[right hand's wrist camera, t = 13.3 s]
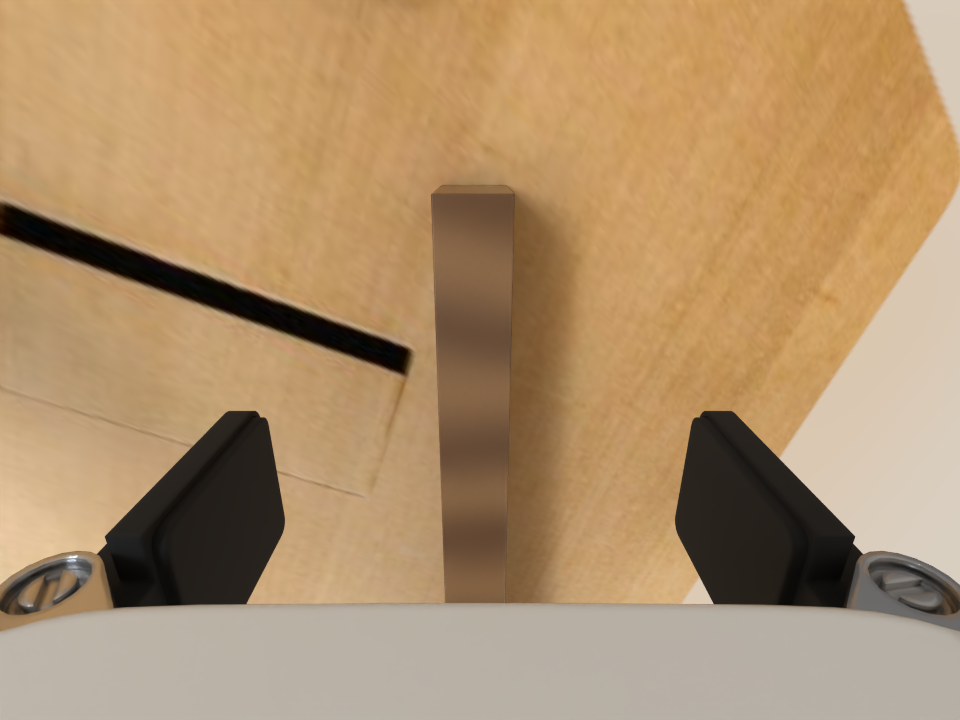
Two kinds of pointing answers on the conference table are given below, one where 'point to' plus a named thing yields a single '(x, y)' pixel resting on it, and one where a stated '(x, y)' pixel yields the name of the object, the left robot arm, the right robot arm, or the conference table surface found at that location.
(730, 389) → the conference table surface
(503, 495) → the beam
